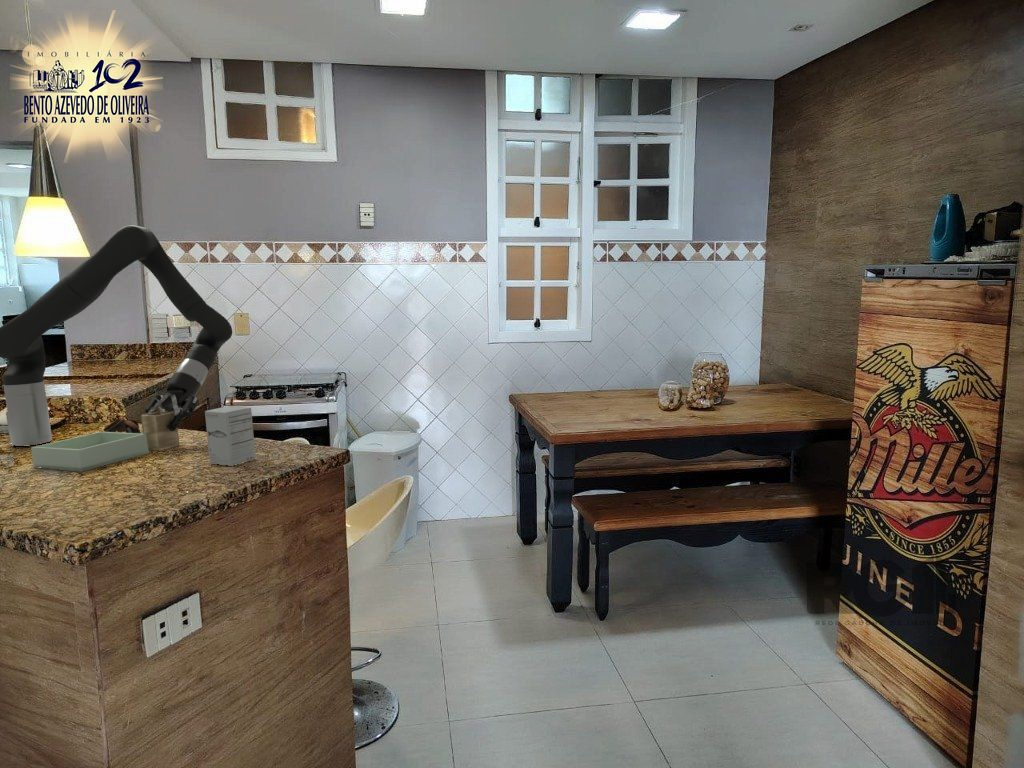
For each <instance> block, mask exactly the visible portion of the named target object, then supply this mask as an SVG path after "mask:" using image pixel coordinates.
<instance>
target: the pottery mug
mask: <svg viewBox="0 0 1024 768" xmlns="http://www.w3.org/2000/svg"><path fill="white" fill-rule="evenodd" d="M100 432H119V433H140V434H142V431H141V430H140V425H139V422H138V421H137V420H136V419H134V418H129V419H127V420H126V419H125V417H120V418H118V419H115V420H114V421H112V422H110V423H109V424H108V425H107V426H105V427H104V428H103V430H100Z"/></svg>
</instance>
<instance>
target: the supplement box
mask: <svg viewBox="0 0 1024 768" xmlns="http://www.w3.org/2000/svg"><path fill="white" fill-rule="evenodd" d="M252 414H253V413H252V407H244V406H243V407H242V406H230V405H229V406H227V405H226V406H223V407H222V406H221V407H218V408H214V409H213V408H212V409H207V410H205V411H204V416H205V425H206V426H205V427H206V435H207V436H206V437H207V447H208V449H207V450H208V457H209V459H208V460H209V464H210V465H217V464H219V466H225V465H228V466H227V467H230V466H232V465H235V464H238V463H242V462H245V461H249V460H252V459H255V458H256V448H255V437H254V435H255V434H254V427H253V415H252ZM255 460H256V459H255ZM232 467H233V466H232Z"/></svg>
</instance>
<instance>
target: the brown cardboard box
mask: <svg viewBox="0 0 1024 768" xmlns="http://www.w3.org/2000/svg"><path fill="white" fill-rule="evenodd" d="M173 415H175V412H173V411H171V412H166V411H156V412H155V413H150V414H147V413H145V414H141V415H140V421H141V422H140V423H141V429H142V434H146V436H147V444H148V451H165V450H167V449H168V450H169V449H170V448H171V447H172V448H175V447H178V446H177V445H179V446H180V438H179V437H180V436H179V429H178V427H179V426H178V427H177V428H176V429H175V431H170V430H169V429H168V428H167V425H168V423H169V422H170V420H171V418H172V417H173ZM174 446H175V447H174ZM164 449H165V450H164Z"/></svg>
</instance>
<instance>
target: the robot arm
mask: <svg viewBox="0 0 1024 768" xmlns="http://www.w3.org/2000/svg"><path fill="white" fill-rule="evenodd" d="M137 261H138V262H139V263H141V264H142V265H143V266H144V267H145V268H146V269H148V270H149V271H150V273H152V275H153V276H154V277H155V279H156V280H157V282H158V283H159V284H160V286H161V288H162V289H163V292H164V293H165V294H166V297H168V299H169V301H170V302H171V303H172V305H173V306H174V307H175V308H176V309H177V311H178V312H180V314H181V315H182V316H183V318H185V319H186V320H187V321H188V322H191V323H193V322H196V323H197V324H199V326H201V327H202V328H201V330H199V332H198V334H197V336H196V338H195V340H194V343H193V345H192V347H191V348H190V349H189V351H188V352H187V354H186V355H185V357H184V359H183V360H182V362H181V363H180V364H179V365H178V366H177V368H176V370H175V371H174V373H173V375H172V376H171V378H170V379H169V381H168V383H167V384H166V392H165V393H164V394H163V395H160V394H159V393H155V394H154V395H153V396H152V398H151V400H150V401H149V403H148V404H147V405H146V406H145V409H144V410H143V412H144V413H145V414H150V413H155V412H159V411H166V412H175V415H173V417H172V418H171V420H170V422H169V423H168V425H167V428H168V429H169V430H170V431H175V429H176V428H177V427H179V425H180V423H181V422H182V420H184V419H185V418H187V419H191V417H192V415H193V413H194V412H195V409H196V407H197V405H198V404H199V401H200V400H199V399H198V398H197V397H196V396H197V393H198V392H199V391H200V389H201V387H202V386H203V383H204V382H205V381H206V379H207V376H208V374H209V372H210V370H211V368H212V366H214V363H215V361H216V357H217V354H218V352H219V350H220V349H221V347H222V346H223V345H224V344H225V343H226V342H227V341H229V340H230V339H231V338H232V335H233V328H232V325H231V324H230V321H228V319H227V318H225V316H223V315H222V314H221V313H220V312H218V311H217V310H216V309H214V308H213V307H212V306H210V305H208V303H207V302H206V301H205V299H204V298H202V296H201V295H200V294H199V293H198V291H196V289H195V288H194V287H193V286H192V285H191V284H190V283H189V281H188V280H187V279H186V278H185V277H184V276H183V274H182V273H181V272H180V270H179V269H178V268H177V267H176V265H175V264H174V263H173V261H172V260H171V258H170V257H169V256H168V254H167V253H166V251H165V249H164V248H163V246H162V245H161V243H160V241H159V240H158V237H156V235H155V233H154V232H153V231H152V230H150V229H149V228H146V227H144V226H141V225H140V226H139V225H133V224H131V225H130V224H129V225H125V226H123V227H121V228H119V229H118V230H116V231H115V233H113V235H112V236H111V237H110V238H109V239H108V240H107V241H106V242H105V243H104V244H103V245H102V246H101V247H100V248H99V250H97V251H96V252H95V253H94V254H93V255H92V256H90V257H89V258H87V259H86V260H85V261H83V262H82V263H80V264H79V265H78V266H77V267H75V268H74V269H73V270H72V271H70V272H68V273H67V274H65V276H63V277H62V278H61V279H60V280H59V281H57V282H56V283H55V284H54V285H53V286H51V288H50V289H49V290H47V291H46V292H45V293H44V294H42V296H40V297H38V299H37V300H36V301H34V302H33V303H32V305H31V306H29V307H28V308H27V309H25V310H24V311H23V312H21V313H20V314H19V315H17V316H15V317H14V318H12V319H11V320H9V321H8V322H6V323H5V324H3V325H2V326H0V359H1V358H2V359H4V360H8V366H7V369H6V370H5V372H4V373H3V374H2V384H3V391H4V398H5V404H6V413H5V416H6V422H7V428H8V429H7V431H8V436H9V443H12V445H18V446H24V445H34V444H40V443H45V442H49V441H51V440H52V441H53V437H52V429H51V422H50V415H49V414H50V413H49V407H48V400H47V391H46V386H45V385H46V383H45V380H44V379H45V377H44V375H45V371H46V358H45V357H46V355H45V348H44V347H45V345H44V341H43V337H42V336H43V335H44V334H46V333H47V332H48V331H49V330H51V329H52V328H54V327H56V326H58V325H60V324H61V323H64V322H67V321H68V320H69V319H72V318H73V317H75V316H76V315H79V314H80V313H82V312H83V311H84V310H86V309H87V308H88V307H89V306H90V305H92V303H94V302H95V301H96V300H97V299H98V298H100V296H101V295H102V294H103V293H104V292H105V290H106V289H107V288H108V286H109V284H110V283H111V281H112V280H113V279H114V278H115V277H116V276H117V275H118V274H119V273H120V272H121V271H123V270H124V269H126V268H128V266H130V265H132V264H133V263H134V262H137ZM12 445H11V446H12Z"/></svg>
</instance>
